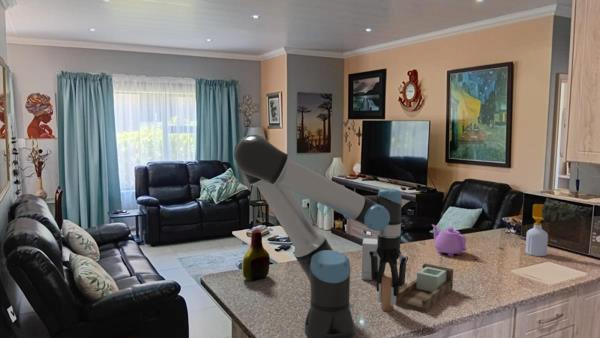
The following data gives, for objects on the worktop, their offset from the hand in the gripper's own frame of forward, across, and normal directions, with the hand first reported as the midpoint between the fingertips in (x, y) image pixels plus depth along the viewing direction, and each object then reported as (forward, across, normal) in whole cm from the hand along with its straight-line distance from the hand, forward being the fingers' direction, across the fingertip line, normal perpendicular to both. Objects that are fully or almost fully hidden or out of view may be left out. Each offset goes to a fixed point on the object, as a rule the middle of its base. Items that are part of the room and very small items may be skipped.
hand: (387, 302), depth 153 cm
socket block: (0, -6, -24) cm, 25 cm away
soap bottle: (+2, -27, -103) cm, 107 cm away
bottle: (+2, +55, +6) cm, 55 cm away
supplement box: (+2, +19, -25) cm, 31 cm away
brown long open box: (+2, -6, -18) cm, 19 cm away
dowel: (+2, 0, 0) cm, 2 cm away
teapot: (+2, +7, -78) cm, 78 cm away
